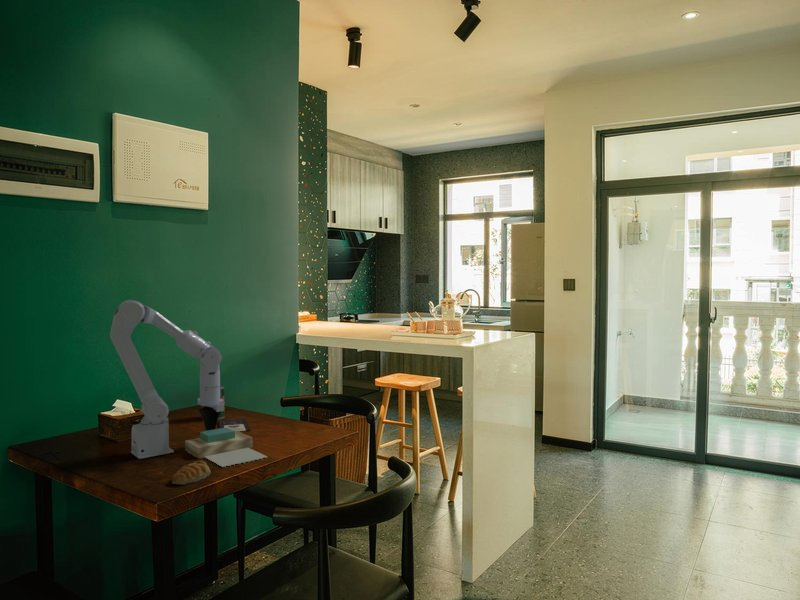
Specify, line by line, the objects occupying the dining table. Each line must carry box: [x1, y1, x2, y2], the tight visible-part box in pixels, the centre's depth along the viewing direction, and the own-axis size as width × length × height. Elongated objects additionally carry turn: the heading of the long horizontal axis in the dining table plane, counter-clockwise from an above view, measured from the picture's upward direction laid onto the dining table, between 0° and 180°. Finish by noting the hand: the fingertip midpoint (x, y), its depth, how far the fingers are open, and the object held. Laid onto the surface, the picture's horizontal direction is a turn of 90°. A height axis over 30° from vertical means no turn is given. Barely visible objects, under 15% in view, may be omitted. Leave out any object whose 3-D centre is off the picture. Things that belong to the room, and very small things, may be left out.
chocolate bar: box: [217, 417, 251, 432], centre depth 191 cm, size 9×1×18 cm
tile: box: [199, 427, 235, 443], centre depth 164 cm, size 8×6×2 cm
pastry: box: [171, 460, 211, 486], centre depth 138 cm, size 9×7×4 cm
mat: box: [203, 448, 269, 468], centre depth 155 cm, size 13×12×1 cm
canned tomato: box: [201, 385, 226, 420], centre depth 203 cm, size 8×8×11 cm
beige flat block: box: [184, 431, 254, 460], centre depth 163 cm, size 16×10×3 cm, turn 131°
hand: (210, 431), depth 168 cm, fingers closed
